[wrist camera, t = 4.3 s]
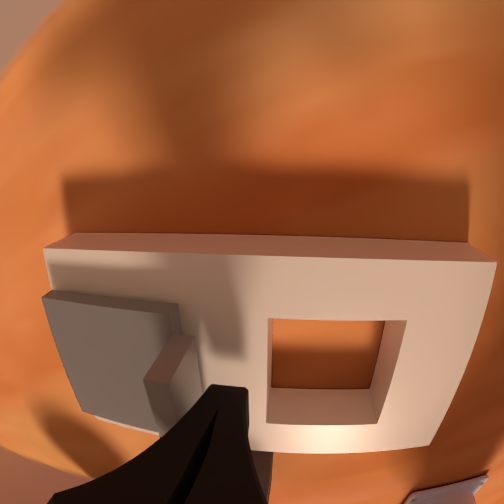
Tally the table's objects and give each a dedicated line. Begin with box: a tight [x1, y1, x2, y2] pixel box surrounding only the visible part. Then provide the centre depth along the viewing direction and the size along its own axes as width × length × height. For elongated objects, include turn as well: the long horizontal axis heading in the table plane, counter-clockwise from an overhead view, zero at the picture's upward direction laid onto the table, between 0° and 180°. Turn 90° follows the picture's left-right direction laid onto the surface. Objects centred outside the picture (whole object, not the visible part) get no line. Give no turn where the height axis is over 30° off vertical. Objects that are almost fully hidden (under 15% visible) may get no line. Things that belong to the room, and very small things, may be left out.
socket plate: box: [43, 233, 497, 453], centre depth 13 cm, size 10×18×2 cm, turn 91°
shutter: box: [42, 290, 203, 438], centre depth 11 cm, size 6×7×3 cm
